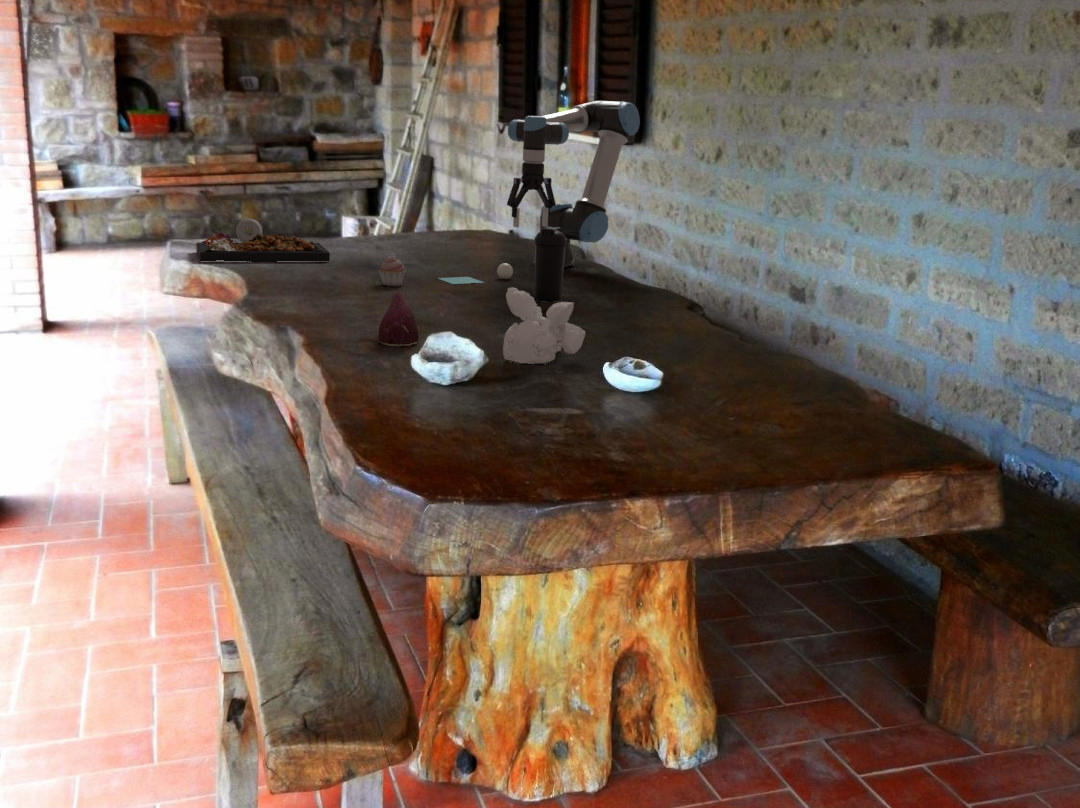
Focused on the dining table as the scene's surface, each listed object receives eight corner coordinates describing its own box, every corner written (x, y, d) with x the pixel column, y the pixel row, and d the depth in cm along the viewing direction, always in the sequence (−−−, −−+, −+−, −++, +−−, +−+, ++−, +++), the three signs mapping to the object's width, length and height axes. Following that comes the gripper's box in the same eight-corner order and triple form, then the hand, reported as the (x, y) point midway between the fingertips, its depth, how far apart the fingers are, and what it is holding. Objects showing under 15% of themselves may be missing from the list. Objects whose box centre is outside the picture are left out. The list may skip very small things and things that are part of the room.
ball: (507, 277, 402) (508, 261, 401) (515, 279, 398) (516, 264, 396) (494, 277, 400) (494, 262, 398) (501, 280, 395) (502, 264, 394)
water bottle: (567, 299, 366) (571, 227, 360) (557, 304, 356) (561, 230, 350) (537, 296, 369) (541, 224, 363) (527, 301, 360) (530, 227, 353)
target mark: (468, 277, 398) (468, 276, 398) (484, 283, 388) (484, 282, 388) (437, 278, 392) (437, 278, 392) (452, 284, 382) (452, 283, 382)
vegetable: (380, 350, 299) (374, 293, 298) (420, 346, 299) (414, 289, 299) (377, 349, 288) (371, 290, 288) (418, 345, 289) (412, 286, 288)
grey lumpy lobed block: (480, 327, 274) (516, 275, 285) (495, 385, 288) (528, 333, 299) (551, 341, 266) (585, 287, 278) (563, 401, 280) (594, 347, 292)
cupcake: (412, 286, 376) (412, 255, 374) (390, 288, 370) (390, 257, 367) (394, 281, 382) (394, 252, 380) (372, 284, 376) (372, 253, 373)
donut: (262, 243, 454) (261, 218, 451) (262, 244, 450) (262, 219, 448) (236, 243, 451) (235, 217, 449) (236, 244, 448) (235, 218, 445)
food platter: (200, 265, 401) (199, 235, 398) (196, 254, 423) (195, 226, 420) (329, 264, 416) (329, 236, 413) (319, 254, 438) (319, 227, 435)
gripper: (556, 161, 402) (553, 224, 407) (498, 161, 390) (495, 225, 396) (567, 163, 395) (564, 227, 401) (508, 162, 384) (506, 228, 390)
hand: (530, 226), depth 399 cm, fingers open, 11 cm apart
